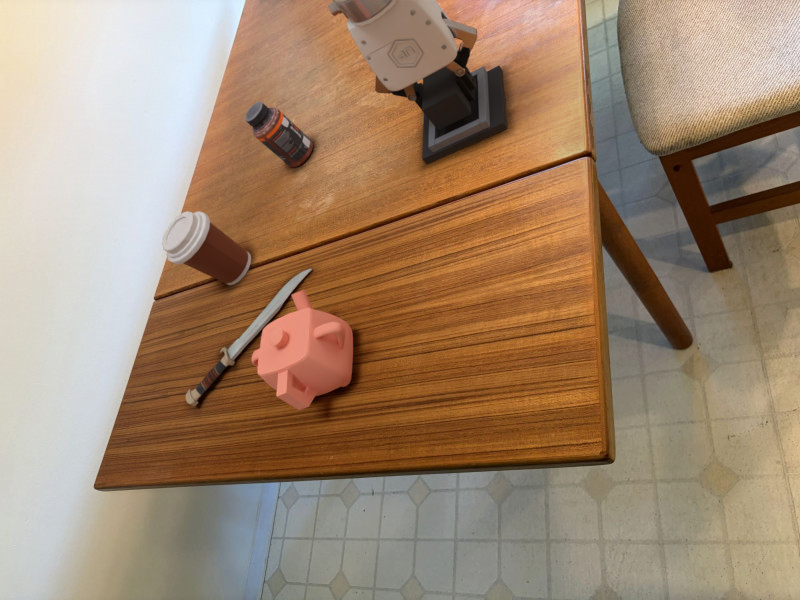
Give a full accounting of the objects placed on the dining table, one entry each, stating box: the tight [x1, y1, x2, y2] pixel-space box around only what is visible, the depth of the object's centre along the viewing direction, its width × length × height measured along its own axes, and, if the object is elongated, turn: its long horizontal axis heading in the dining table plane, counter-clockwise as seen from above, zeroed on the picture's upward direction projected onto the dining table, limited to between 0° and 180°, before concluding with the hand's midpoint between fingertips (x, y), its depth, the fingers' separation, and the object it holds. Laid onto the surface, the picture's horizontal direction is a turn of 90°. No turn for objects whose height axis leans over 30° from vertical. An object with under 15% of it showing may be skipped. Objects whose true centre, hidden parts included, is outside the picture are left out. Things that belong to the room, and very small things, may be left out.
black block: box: [421, 67, 471, 130], centre depth 73 cm, size 5×7×4 cm
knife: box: [185, 268, 313, 407], centre depth 82 cm, size 27×2×5 cm
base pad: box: [421, 65, 508, 165], centre depth 75 cm, size 12×11×2 cm
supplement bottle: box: [244, 101, 314, 168], centre depth 93 cm, size 6×6×11 cm
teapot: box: [251, 289, 354, 411], centre depth 66 cm, size 12×12×10 cm
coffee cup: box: [161, 210, 252, 286], centre depth 89 cm, size 9×9×12 cm
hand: (452, 101), depth 74 cm, fingers closed on black block, 4 cm apart
